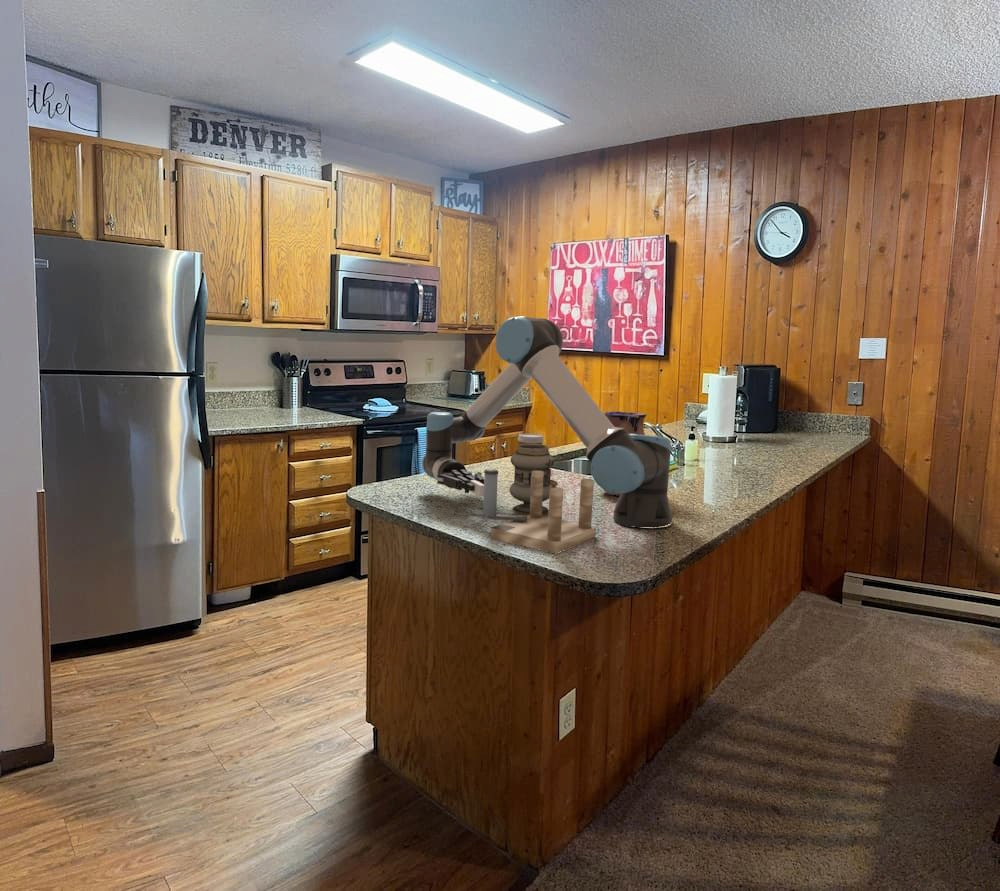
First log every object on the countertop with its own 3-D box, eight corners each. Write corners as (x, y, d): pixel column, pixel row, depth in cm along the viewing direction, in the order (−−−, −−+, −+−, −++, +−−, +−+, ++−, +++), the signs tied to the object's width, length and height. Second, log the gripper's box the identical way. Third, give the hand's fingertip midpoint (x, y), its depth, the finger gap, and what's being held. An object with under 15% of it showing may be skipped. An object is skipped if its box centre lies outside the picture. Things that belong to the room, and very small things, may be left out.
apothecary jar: (501, 506, 197) (504, 442, 194) (540, 504, 201) (543, 441, 198) (519, 517, 186) (522, 450, 183) (560, 514, 190) (564, 448, 188)
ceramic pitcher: (613, 502, 207) (618, 417, 203) (576, 487, 226) (581, 409, 222) (662, 498, 214) (668, 416, 211) (623, 484, 233) (628, 408, 230)
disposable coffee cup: (548, 468, 256) (549, 436, 254) (530, 471, 249) (532, 438, 247) (528, 464, 262) (529, 432, 260) (510, 467, 255) (512, 434, 253)
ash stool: (595, 537, 170) (599, 480, 168) (556, 554, 156) (559, 491, 154) (532, 523, 180) (535, 469, 178) (490, 538, 166) (492, 479, 164)
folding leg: (527, 518, 174) (529, 471, 172) (526, 522, 171) (528, 474, 169) (483, 515, 175) (485, 468, 173) (481, 519, 172) (483, 471, 170)
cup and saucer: (520, 482, 230) (521, 464, 230) (557, 485, 229) (558, 466, 228) (517, 490, 219) (518, 471, 218) (556, 493, 217) (557, 473, 217)
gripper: (471, 484, 201) (505, 503, 180) (427, 486, 196) (457, 507, 175) (472, 458, 200) (506, 474, 179) (428, 460, 195) (458, 477, 173)
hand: (482, 490), depth 177 cm, fingers closed
